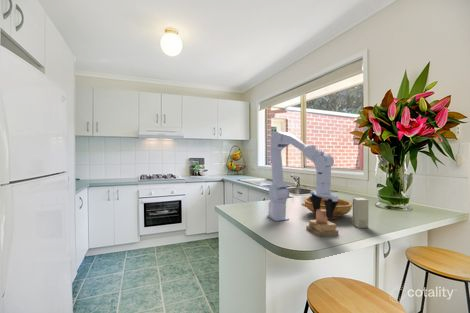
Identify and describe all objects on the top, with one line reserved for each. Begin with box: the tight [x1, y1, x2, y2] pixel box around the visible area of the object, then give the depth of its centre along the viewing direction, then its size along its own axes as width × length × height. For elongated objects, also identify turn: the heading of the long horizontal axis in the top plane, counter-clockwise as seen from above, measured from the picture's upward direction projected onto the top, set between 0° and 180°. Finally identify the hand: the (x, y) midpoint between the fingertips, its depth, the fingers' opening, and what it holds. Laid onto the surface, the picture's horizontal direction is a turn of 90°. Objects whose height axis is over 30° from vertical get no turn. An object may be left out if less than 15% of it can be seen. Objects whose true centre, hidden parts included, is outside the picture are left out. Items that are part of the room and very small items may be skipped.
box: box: [352, 197, 369, 229], centre depth 102 cm, size 5×4×13 cm
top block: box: [308, 219, 337, 232], centre depth 94 cm, size 8×8×2 cm
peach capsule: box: [315, 209, 328, 224], centre depth 94 cm, size 4×4×5 cm
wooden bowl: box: [301, 196, 353, 220], centre depth 119 cm, size 30×24×8 cm
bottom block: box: [305, 225, 339, 238], centre depth 94 cm, size 9×9×2 cm
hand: (322, 214), depth 94 cm, fingers open, 7 cm apart
